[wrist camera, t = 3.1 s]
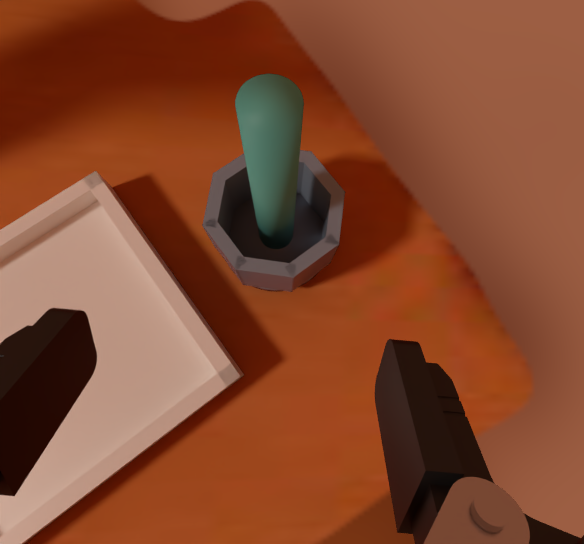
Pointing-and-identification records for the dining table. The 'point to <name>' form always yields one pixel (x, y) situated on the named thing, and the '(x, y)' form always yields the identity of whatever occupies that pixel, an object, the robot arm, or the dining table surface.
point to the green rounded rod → (271, 152)
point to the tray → (104, 344)
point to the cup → (245, 236)
